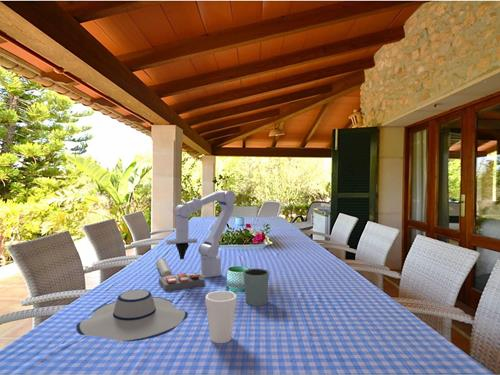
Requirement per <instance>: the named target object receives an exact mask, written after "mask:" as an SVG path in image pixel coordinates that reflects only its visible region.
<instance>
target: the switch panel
mask: <svg viewBox="0 0 500 375" xmlns="http://www.w3.org/2000/svg"><path fill="white" fill-rule="evenodd" d="M196 274H198V273H197V272H195V273H194V272H193V273H186V275H187V277H188V279H189V281H186V282H181V281H180V279H179V277H178V276H177V275H174V277H175V278H176V280H177V282H174V283H168V281H167V280H166V278H165V277H162V276H161V277H159V278H158V284H159V285H160V287H162V289H163V290H164V292H167V291H174V290H180V289H181V290H182V289H187V288H194V287H199V286H200V287H202V286H205V285H206V282H205V281H206V280H205V278H203V277H202V276H200V277H189V275H196Z"/></svg>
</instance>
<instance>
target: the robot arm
mask: <svg viewBox="0 0 500 375" xmlns="http://www.w3.org/2000/svg"><path fill="white" fill-rule="evenodd" d="M236 200H237V197H236V195H235V193H234V191H232V190H221V189H219V190H216V191H214V192H211V193H210V194H208V195H205V196H204V197H202V198H197V197H193V198H192V199H191V200H189V201H187V202H183V204H177V205H176V207H175V209H174V210H173V213H174V215H175V217H176V218H175V239H166V240H165V243H166V245H167V246H170V245H175V247H176V249H177V252H178V255H179V256H178V257H179V259H180V260H185V255H186V252H187V250H188V249H189V246H190V244H198V238H197V237H195V238H189V220H190V219H189V218H190V217H191V214H194V213H196V212H198V211H200V210H202V209H203V206H206V205H208V204H210V203H213V202H215V201H216V202H217V204H218V205H219V206H220V207H221V208H220V209H221V211H220V212H219V215H218V217H217V219H216V221H215V223H214V225H213V227H212V230H211V231H210V234H209V235H208V237H207V238H205V239H204V240H203V242H202V243H201V244H199V246H198V253H199V254H200V258H201V260H200V268H201V269H200V272H198V274H200V275H201V277H202V278H203V279H205V278H213V277H219V276H220V277H221V276H222V272H221V271H222V263H221V262H222V261H221V258H220V257H219V256H218V255H219V252H220V251H219V249H220V246H221V245H220V242H219V241H220V240H221V237H222V235H223V232H224V231H225V228H226V226H227V224H228V222H229V220H230V218H231V216H232V214H233V212H234V207H235V205H234V204H235V202H236Z"/></svg>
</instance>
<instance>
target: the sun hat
mask: <svg viewBox="0 0 500 375" xmlns="http://www.w3.org/2000/svg"><path fill="white" fill-rule="evenodd" d="M172 303H174V302H173V301H172V300H170V299H167V298H164V297H158V296H153V295H152V293H151V292H150V291H149V290H145V289H131V290H127V291H124V292H121V293H120V294H118V296H117V298H116V301H114V302H110V303H109V302H108V303H107V304H103V305H101V306H99V307H98V308H96V309H94V310H93V311H92V312H93V314H92V316H90V317H88V318H87V319H85V320H82V321H80V322H78V323H77V324H76V331H77V333H78V334H79V335H82V336H90V337H97V338H98V337H100V338H104V339H110V340H113V341H120V342H139V341H144V340H149V339H152V338H156V337H159V336H161V335H165V334H167V333H170V332H171V331H174V330H175V329H176V327H178V326H179V324H181V323H183V321H185V320H186V319H187V318H188V311H185V310H182V309H181V308H177V307H175V306H174V304H172Z"/></svg>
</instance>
